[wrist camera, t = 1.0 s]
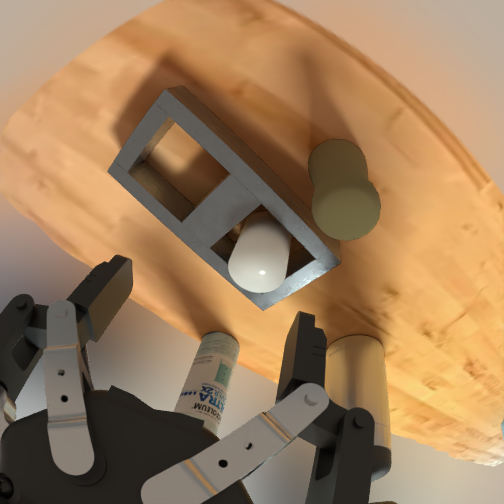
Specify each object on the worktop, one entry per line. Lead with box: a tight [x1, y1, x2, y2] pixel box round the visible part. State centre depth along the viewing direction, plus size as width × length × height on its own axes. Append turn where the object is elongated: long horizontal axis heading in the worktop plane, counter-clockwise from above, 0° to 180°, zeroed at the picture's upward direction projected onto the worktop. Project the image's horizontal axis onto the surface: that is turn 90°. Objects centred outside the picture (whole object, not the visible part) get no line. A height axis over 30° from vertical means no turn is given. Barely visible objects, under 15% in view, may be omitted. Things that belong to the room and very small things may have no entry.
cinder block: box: [107, 86, 341, 311], centre depth 32 cm, size 24×11×4 cm, turn 46°
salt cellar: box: [228, 212, 292, 293], centre depth 32 cm, size 6×6×7 cm
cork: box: [308, 139, 381, 241], centre depth 25 cm, size 6×6×11 cm
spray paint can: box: [174, 332, 239, 435], centre depth 40 cm, size 6×6×20 cm
